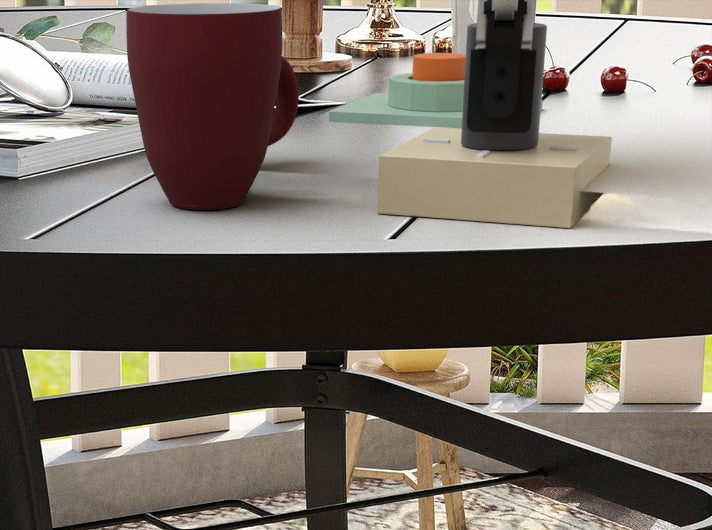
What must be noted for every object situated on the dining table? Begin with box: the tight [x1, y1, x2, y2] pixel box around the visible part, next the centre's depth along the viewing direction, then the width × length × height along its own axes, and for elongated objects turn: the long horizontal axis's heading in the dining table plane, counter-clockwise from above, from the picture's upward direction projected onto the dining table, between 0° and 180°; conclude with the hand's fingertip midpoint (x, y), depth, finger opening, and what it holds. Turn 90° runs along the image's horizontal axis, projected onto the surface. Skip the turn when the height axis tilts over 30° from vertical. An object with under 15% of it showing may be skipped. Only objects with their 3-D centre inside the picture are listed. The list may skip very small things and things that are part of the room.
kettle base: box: [328, 72, 544, 129], centre depth 94 cm, size 12×10×4 cm
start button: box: [411, 52, 466, 81], centre depth 93 cm, size 4×4×2 cm
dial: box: [461, 22, 548, 151], centre depth 73 cm, size 4×4×6 cm
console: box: [376, 127, 613, 229], centre depth 74 cm, size 10×10×3 cm
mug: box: [125, 2, 300, 211], centre depth 75 cm, size 10×8×10 cm
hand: (500, 120), depth 73 cm, fingers closed on dial, 4 cm apart
